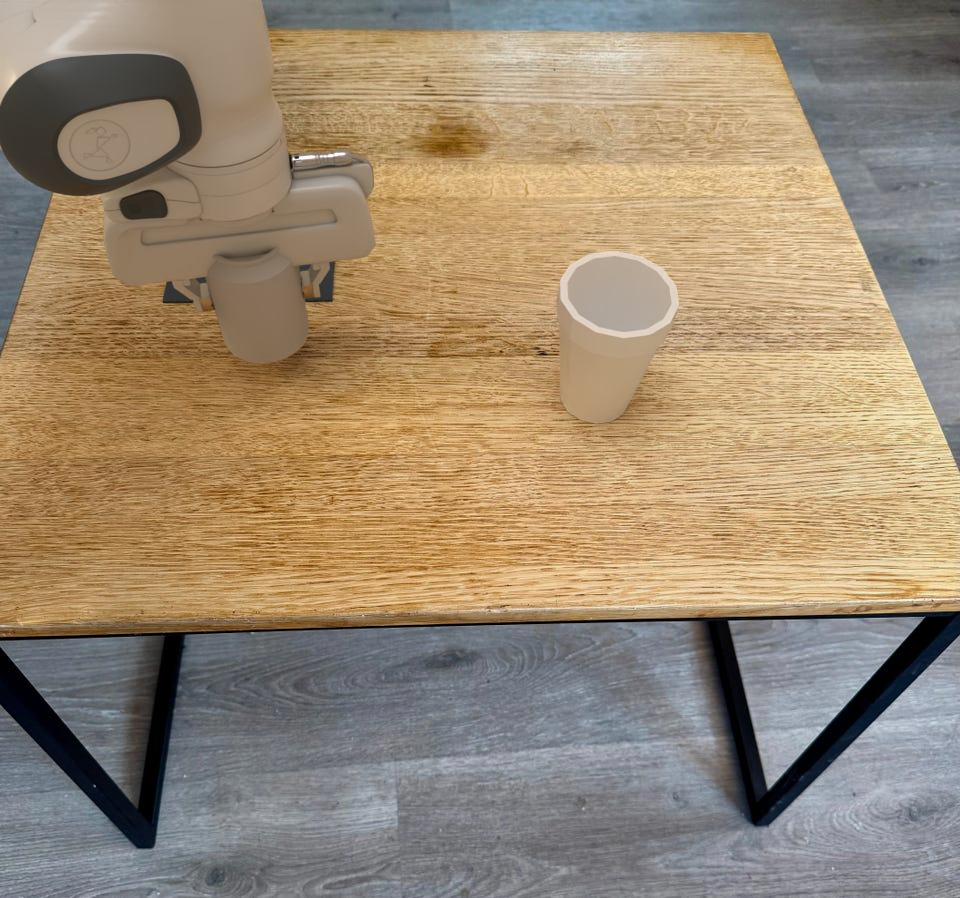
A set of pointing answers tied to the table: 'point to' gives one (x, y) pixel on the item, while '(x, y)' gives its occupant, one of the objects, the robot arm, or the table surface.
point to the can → (259, 306)
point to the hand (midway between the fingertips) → (258, 299)
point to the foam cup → (610, 330)
